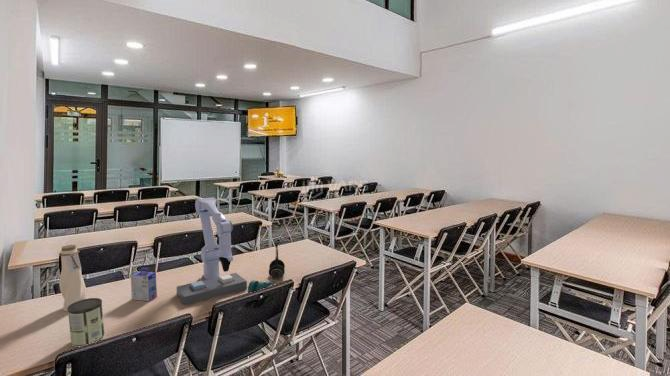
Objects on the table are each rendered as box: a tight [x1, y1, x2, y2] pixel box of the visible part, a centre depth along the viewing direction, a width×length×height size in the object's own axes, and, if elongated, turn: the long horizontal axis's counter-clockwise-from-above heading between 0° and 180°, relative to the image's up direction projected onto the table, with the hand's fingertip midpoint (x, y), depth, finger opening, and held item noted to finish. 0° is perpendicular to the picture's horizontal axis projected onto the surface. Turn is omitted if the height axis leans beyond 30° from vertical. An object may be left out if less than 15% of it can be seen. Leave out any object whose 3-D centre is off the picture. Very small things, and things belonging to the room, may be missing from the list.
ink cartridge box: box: [130, 266, 158, 302], centre depth 160 cm, size 10×6×14 cm, turn 79°
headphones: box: [268, 240, 286, 280], centre depth 188 cm, size 9×15×20 cm, turn 8°
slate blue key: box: [191, 280, 205, 291], centre depth 164 cm, size 5×5×3 cm
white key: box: [220, 274, 233, 284], centre depth 172 cm, size 5×5×3 cm
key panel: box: [176, 272, 248, 306], centre depth 168 cm, size 14×30×4 cm, turn 129°
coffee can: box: [67, 297, 106, 348], centre depth 125 cm, size 10×10×14 cm
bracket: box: [247, 279, 277, 294], centre depth 168 cm, size 18×7×8 cm, turn 162°
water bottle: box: [58, 244, 87, 312], centre depth 149 cm, size 10×9×28 cm
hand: (225, 271), depth 172 cm, fingers closed
